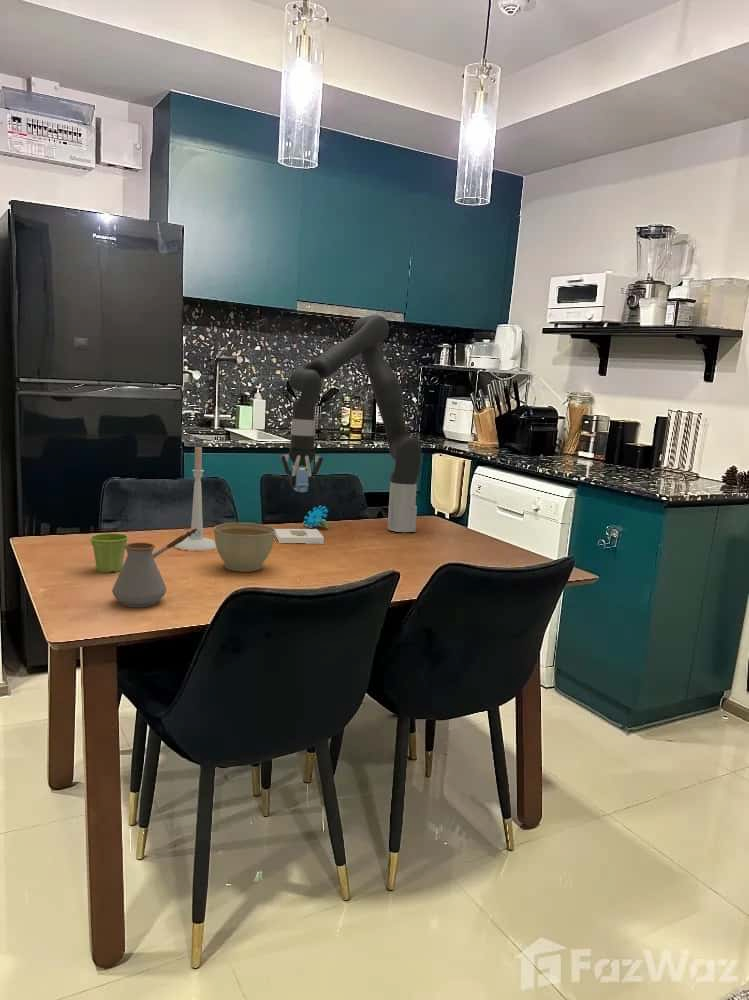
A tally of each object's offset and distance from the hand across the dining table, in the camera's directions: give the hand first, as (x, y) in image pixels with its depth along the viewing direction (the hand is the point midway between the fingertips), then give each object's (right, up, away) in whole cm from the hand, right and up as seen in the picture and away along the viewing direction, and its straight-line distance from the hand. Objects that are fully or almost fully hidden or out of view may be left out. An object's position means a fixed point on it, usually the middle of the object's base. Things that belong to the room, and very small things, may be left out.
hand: (300, 487), depth 234 cm
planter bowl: (-12, -22, -37) cm, 45 cm away
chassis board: (-1, -17, +2) cm, 17 cm away
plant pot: (-44, -22, -46) cm, 68 cm away
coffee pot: (-26, -26, -67) cm, 76 cm away
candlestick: (-29, -18, -16) cm, 38 cm away
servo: (0, -1, 0) cm, 1 cm away
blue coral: (+3, -14, +22) cm, 26 cm away
